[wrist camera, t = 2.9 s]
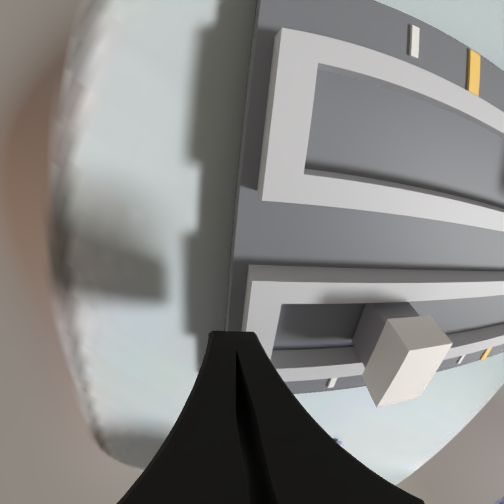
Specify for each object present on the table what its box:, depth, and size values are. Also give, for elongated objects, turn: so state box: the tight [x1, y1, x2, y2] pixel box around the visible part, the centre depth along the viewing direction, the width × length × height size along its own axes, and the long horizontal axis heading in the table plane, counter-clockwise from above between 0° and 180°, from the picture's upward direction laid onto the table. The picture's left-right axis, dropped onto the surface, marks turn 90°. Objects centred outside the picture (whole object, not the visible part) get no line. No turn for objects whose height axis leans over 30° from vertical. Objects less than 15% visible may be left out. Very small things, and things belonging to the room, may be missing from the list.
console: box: [225, 0, 504, 394], centre depth 11 cm, size 16×22×2 cm
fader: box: [351, 302, 453, 407], centre depth 10 cm, size 3×2×3 cm
